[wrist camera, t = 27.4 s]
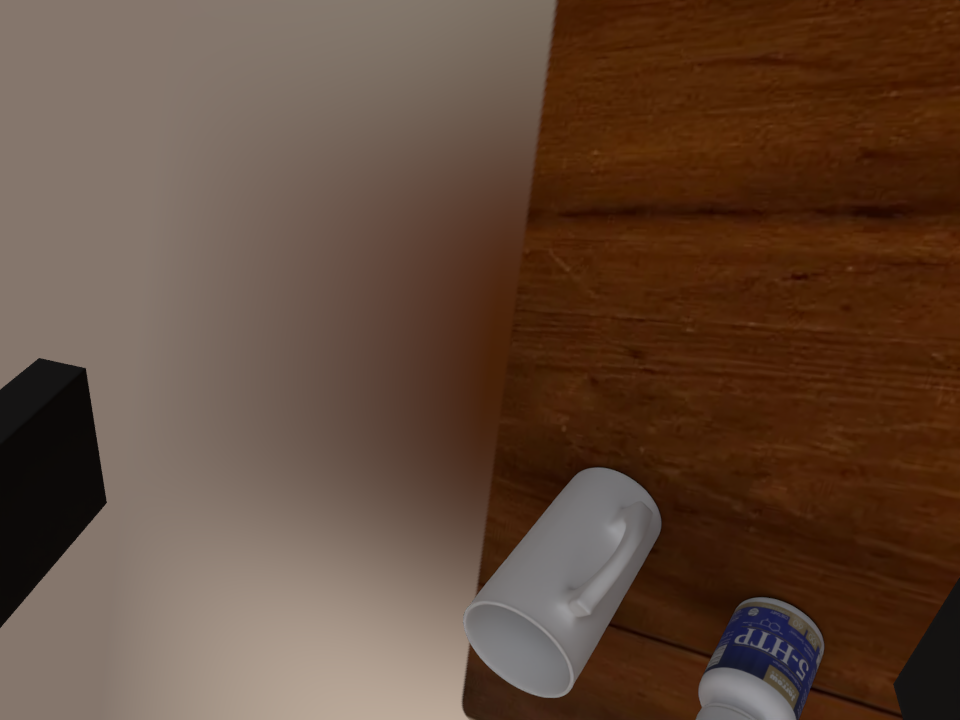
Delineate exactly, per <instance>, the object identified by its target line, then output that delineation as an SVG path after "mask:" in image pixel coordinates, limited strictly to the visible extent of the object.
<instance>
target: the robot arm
mask: <svg viewBox="0 0 960 720" xmlns="http://www.w3.org/2000/svg"><path fill="white" fill-rule="evenodd" d="M106 503H107V501H106V495H105V489H104V482H103V476H102V470H101V464H100V457H99V450H98V444H97V437H96V432H95V425H94V418H93V412H92V406H91V399H90V393H89V386H88V381H87V374H86V368H82V367H77V366H73V365H68V364H64V363H59V362H54V361H50V360H45V359H40V358H39V359H37V360H36V361H35V362H34V363H33V364H31V365H30V366H29V367H28V368H26V369H25V370H24V371H23V372H21V373H20V374H19V375H18V376H16V377H15V378H14V379H13V380H12V381H10V382H9V383H8V384H7V385H5V386H4V387H3V388H2V389H1V390H0V628H1V627H2V625H3V624H4V623H5V622H6V621H7V619H8V618H9V617H10V616H11V615H12V614H13V612H14V611H15V610H16V609H17V608H18V606H19V605H20V604H21V603H22V602H23V601H24V599H25V598H26V597H27V596H28V595H29V594H30V592H31V591H32V590H33V589H34V588H35V586H36V585H37V584H38V583H39V582H40V581H41V580H42V578H43V577H44V576H45V575H46V574H47V572H48V571H49V570H50V569H51V568H52V567H53V565H54V564H55V563H56V562H57V561H58V560H59V558H60V557H61V556H62V555H63V554H64V552H65V551H66V550H67V549H68V548H69V547H70V545H71V544H72V543H73V542H74V541H75V540H76V538H77V537H78V536H79V535H80V534H81V532H82V531H83V530H84V529H85V528H86V527H87V525H88V524H89V523H90V522H91V521H92V520H93V518H94V517H95V516H96V515H97V514H98V513H99V511H100V510H101V509H102V508H103V507H104V506H105V504H106ZM894 688H895V692H896V695H897V699H898V702H899V706H900V709H901V713H902V716H903V720H960V578H959V579H958V581H957V583H956V584H955V586H954V587H953V589H952V591H951V592H950V594H949V595H948V597H947V599H946V600H945V602H944V604H943V605H942V607H941V608H940V610H939V612H938V613H937V615H936V616H935V618H934V620H933V621H932V623H931V624H930V626H929V628H928V629H927V631H926V633H925V634H924V636H923V637H922V639H921V641H920V642H919V644H918V645H917V647H916V649H915V650H914V652H913V653H912V655H911V657H910V658H909V660H908V662H907V663H906V665H905V666H904V668H903V670H902V671H901V673H900V674H899V676H898V678H897V679H896V681H895V682H894Z"/></svg>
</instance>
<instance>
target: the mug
mask: <svg viewBox="0 0 960 720" xmlns="http://www.w3.org/2000/svg"><path fill="white" fill-rule="evenodd" d="M660 530H661V517H660V513H659V510H658V508H657V506H656V504H655V502H654V500H653V499H652V497H651V496H650V495H649V494H648V492H647V491H646V490H645V489H644V488H643V487H642V486H641V485H639V484H638V483H637V482H636V481H634V480H633V479H631V478H630V477H628V476H626V475H624V474H622V473H620V472H617V471H615V470H611V469H607V468H588V469H585V470H583V471H581V472H579V473H578V474H577V475H575V476H574V477H573V479H572V480H571V481H570V482H569V483H568V484H567V486H566V487H565V488H564V489H563V490H562V491H561V493H560V494H559V495H558V496H557V497H556V499H555V500H554V501H553V502H552V503H551V505H550V506H549V507H548V508H547V510H546V511H545V512H544V513H543V515H542V516H541V517H540V518H539V520H538V521H537V522H536V523H535V525H534V526H533V527H532V528H531V529H530V531H529V532H528V533H527V534H526V536H525V537H524V538H523V539H522V540H521V542H520V543H519V544H518V545H517V547H516V548H515V549H514V550H513V551H512V553H511V554H510V555H509V556H508V558H507V559H506V560H505V561H504V562H503V564H502V565H501V566H500V567H499V568H498V570H497V571H496V572H495V573H494V575H493V576H492V577H491V578H490V579H489V581H488V582H487V583H486V584H485V586H484V587H483V588H482V589H481V591H480V592H479V593H478V595H477V596H476V597H475V599H474V600H473V601H472V603H471V604H470V605H469V606H468V607H467V609H466V611H465V613H464V617H463V624H464V629H465V632H466V635H467V638H468V640H469V642H470V644H471V645H472V647H473V649H474V650H475V651H476V653H477V654H478V655H479V657H480V658H481V659H482V660H483V661H484V662H485V664H486V665H487V666H488V667H490V668H491V669H492V670H493V671H494V672H495V673H496V674H498V675H499V676H500V677H502V678H503V679H504V680H506V681H507V682H509V683H510V684H512V685H514V686H515V687H517V688H519V689H521V690H523V691H525V692H528V693H530V694H533V695H536V696H540V697H546V698H557V697H561V696H564V695H566V694H567V693H568V692H569V691H570V690H571V689H572V687H573V684H574V683H575V681H576V679H577V678H578V676H579V674H580V673H581V671H582V669H583V668H584V666H585V665H586V663H587V661H588V659H589V658H590V656H591V654H592V652H593V651H594V649H595V647H596V645H597V644H598V642H599V640H600V638H601V636H602V635H603V633H604V631H605V629H606V628H607V626H608V624H609V622H610V621H611V619H612V617H613V615H614V613H615V612H616V610H617V608H618V606H619V605H620V603H621V601H622V599H623V598H624V596H625V594H626V592H627V591H628V589H629V587H630V585H631V584H632V582H633V580H634V579H635V577H636V575H637V573H638V572H639V570H640V568H641V566H642V565H643V563H644V561H645V559H646V557H647V555H648V554H649V552H650V550H651V548H652V547H653V545H654V543H655V541H656V540H657V538H658V536H659V533H660Z"/></svg>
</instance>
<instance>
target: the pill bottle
mask: <svg viewBox="0 0 960 720" xmlns="http://www.w3.org/2000/svg"><path fill="white" fill-rule="evenodd" d="M823 652H824V641H823V637H822V635H821V633H820V631H819V629H818V627H817V626H816V625H815V623H814V622H813V621H812V620H811V619H810V618H809V617H808V616H807V615H805V614H804V613H803V612H801V611H800V610H798V609H797V608H795V607H793V606H792V605H790V604H788V603H785V602H783V601H780V600H776V599H772V598H765V597H757V598H751V599H748V600H745V601H744V602H742V603H741V604H740V605H739V606H738V607H737V608H736V610H735V612H734V613H733V615H732V617H731V619H730V621H729V623H728V625H727V627H726V629H725V631H724V633H723V635H722V637H721V640H720V642H719V644H718V646H717V647H716V650H715V652H714V653H713V656H712V658H711V660H710V662H709V664H708V666H707V668H706V670H705V672H704V674H703V677H702V679H701V682H700V685H699V699H700V703H701V706H702V709H701V710H700V711H699V713H698V715H697V718H696V720H799V718H800V715H801V712H802V710H803V707H804V704H805V702H806V699H807V696H808V693H809V691H810V688H811V685H812V682H813V680H814V677H815V674H816V672H817V669H818V667H819V664H820V661H821V658H822V655H823Z"/></svg>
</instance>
